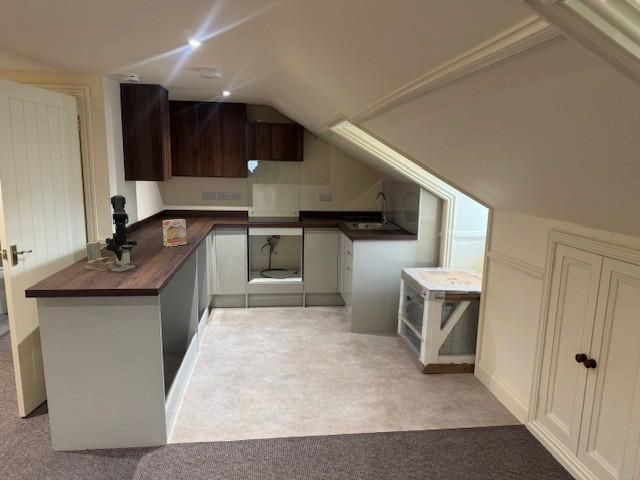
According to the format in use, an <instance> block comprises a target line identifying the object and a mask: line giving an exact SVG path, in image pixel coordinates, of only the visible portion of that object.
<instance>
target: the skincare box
mask: <svg viewBox="0 0 640 480" xmlns="http://www.w3.org/2000/svg"><path fill="white" fill-rule="evenodd" d="M85 244H86V252H87V260H88V261H87V262H89V261H92V260H96V259H100V258H102V255H101V254H102V253H101V245H100V242H99V241H89V242H87V243H85Z"/></svg>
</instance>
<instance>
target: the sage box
mask: <svg viewBox="0 0 640 480" xmlns="http://www.w3.org/2000/svg"><path fill="white" fill-rule="evenodd" d="M122 250H123V251H122V258H121V261H119V260H118V258H117V256H116V255H115V258H116V262H117V264H122V265H125V264H126V265H129V264H130V263H131V258H130V254H129V249H122Z"/></svg>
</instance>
